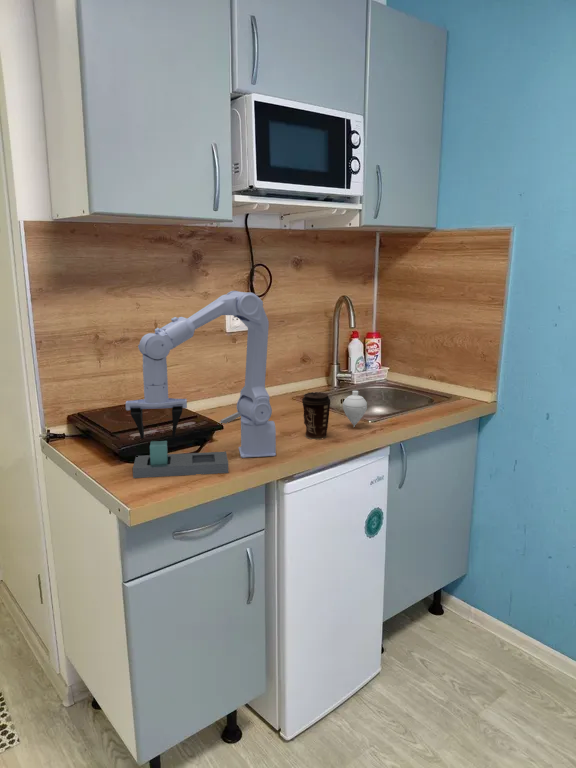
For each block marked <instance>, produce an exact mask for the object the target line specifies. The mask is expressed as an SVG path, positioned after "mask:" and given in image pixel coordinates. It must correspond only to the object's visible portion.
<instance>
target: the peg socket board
mask: <svg viewBox="0 0 576 768" xmlns="http://www.w3.org/2000/svg"><path fill="white" fill-rule="evenodd" d="M137 456H138V457H136V456H135V458H134V461H133V462H134V463H133V466H132V478H133V479H142V478H158V477H159V478H160V477H161V478H162V477H163V478H164V477H178V476H181V477H182V476H197V475H196V474H201V475H214V474H215V475H216V474H218V473H219V474H229V460H228V455H227V451H215V452H214V451H211V452H209V451H208V452H191V453H189V452H188V453H170V454H169V453H168V464H162V465H151V463H150V454H149V455H148V454H147V455H137Z"/></svg>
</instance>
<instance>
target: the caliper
mask: <svg viewBox="0 0 576 768" xmlns="http://www.w3.org/2000/svg"><path fill="white" fill-rule="evenodd" d="M239 417H240V418H241V415H240V414H239V413H238V411H237V412H235V413H232V414H230V415H228V416H226V417H224V418H222V419H220V421H219V422H218V423H225V424H228V423H230V422H232V421H234V420H236V419H238V418H239ZM227 422H228V423H227Z"/></svg>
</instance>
